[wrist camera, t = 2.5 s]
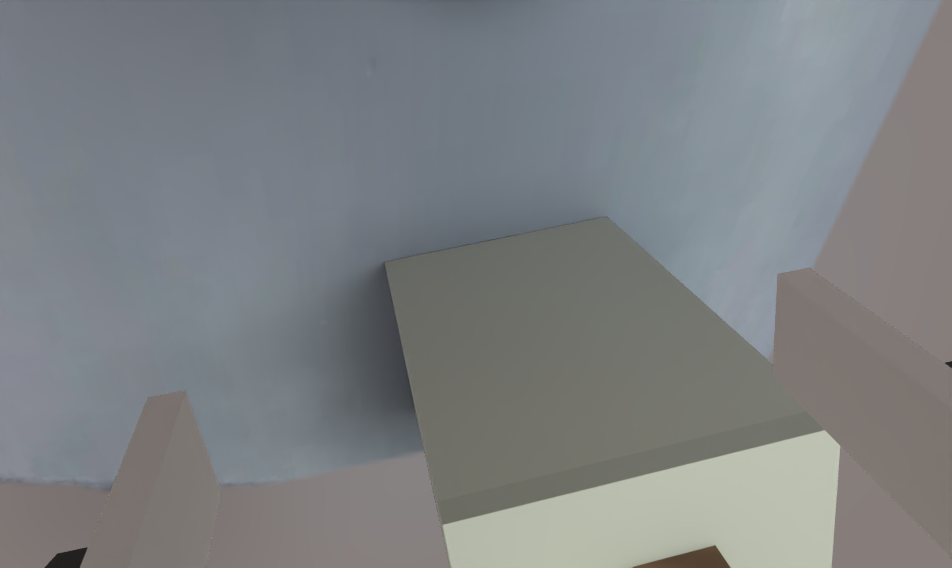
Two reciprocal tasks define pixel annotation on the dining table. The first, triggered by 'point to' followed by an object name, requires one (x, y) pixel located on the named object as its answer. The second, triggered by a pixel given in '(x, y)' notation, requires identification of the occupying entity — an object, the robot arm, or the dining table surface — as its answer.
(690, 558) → the beech bar
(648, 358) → the stand
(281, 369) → the dining table surface
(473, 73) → the dining table surface
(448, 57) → the dining table surface
